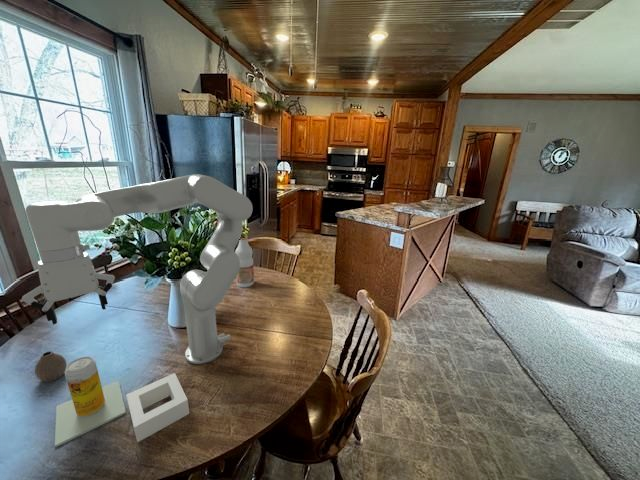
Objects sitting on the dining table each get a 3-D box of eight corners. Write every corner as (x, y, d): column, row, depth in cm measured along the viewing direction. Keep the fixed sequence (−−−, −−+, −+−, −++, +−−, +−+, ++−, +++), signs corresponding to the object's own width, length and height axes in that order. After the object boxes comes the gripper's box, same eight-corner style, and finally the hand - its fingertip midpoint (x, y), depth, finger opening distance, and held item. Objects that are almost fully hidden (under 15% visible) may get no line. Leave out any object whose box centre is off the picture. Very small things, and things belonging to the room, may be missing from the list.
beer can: (71, 420, 70) (57, 374, 66) (84, 401, 75) (72, 357, 71) (99, 415, 72) (87, 370, 67) (109, 397, 77) (99, 354, 73)
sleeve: (176, 385, 82) (174, 372, 81) (189, 413, 74) (187, 399, 72) (129, 408, 75) (126, 394, 73) (137, 442, 66) (133, 427, 65)
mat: (119, 381, 83) (118, 380, 83) (125, 413, 73) (125, 411, 73) (56, 407, 74) (56, 405, 74) (55, 447, 64) (54, 445, 64)
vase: (74, 368, 87) (68, 346, 85) (55, 385, 81) (47, 362, 78) (52, 368, 87) (45, 346, 84) (31, 385, 80) (23, 361, 78)
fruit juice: (233, 283, 150) (230, 235, 142) (248, 278, 156) (246, 233, 148) (242, 289, 144) (239, 240, 135) (257, 284, 150) (255, 236, 142)
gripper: (105, 242, 73) (118, 297, 78) (10, 257, 61) (33, 321, 66) (109, 249, 67) (123, 308, 73) (6, 267, 56) (32, 335, 61)
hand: (80, 314), depth 70 cm, fingers open, 9 cm apart
